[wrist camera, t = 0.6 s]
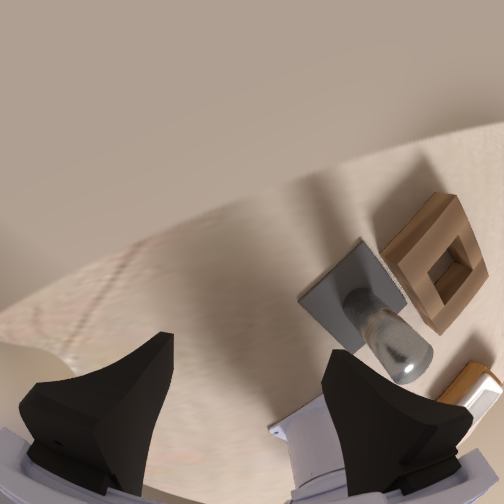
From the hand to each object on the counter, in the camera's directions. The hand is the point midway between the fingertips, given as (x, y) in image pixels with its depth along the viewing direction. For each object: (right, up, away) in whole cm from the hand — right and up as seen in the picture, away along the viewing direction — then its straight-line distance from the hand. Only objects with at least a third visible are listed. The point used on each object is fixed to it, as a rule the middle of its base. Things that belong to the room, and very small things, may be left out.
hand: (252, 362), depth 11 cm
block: (+17, +4, +10) cm, 20 cm away
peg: (+9, +1, +10) cm, 13 cm away
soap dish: (+31, -16, +16) cm, 38 cm away
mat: (+9, +1, +10) cm, 14 cm away
